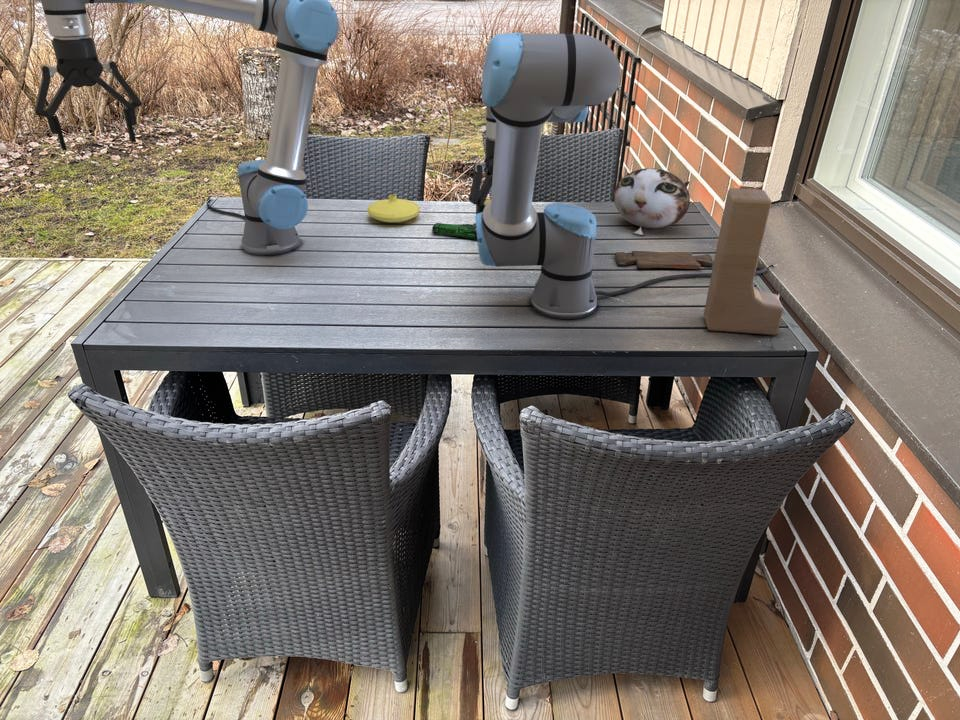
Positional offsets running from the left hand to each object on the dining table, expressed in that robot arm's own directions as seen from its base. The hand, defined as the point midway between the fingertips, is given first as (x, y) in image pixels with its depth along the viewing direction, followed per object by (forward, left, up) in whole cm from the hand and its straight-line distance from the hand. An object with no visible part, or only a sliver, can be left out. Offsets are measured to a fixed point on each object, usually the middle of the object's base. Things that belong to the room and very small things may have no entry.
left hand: (99, 144), depth 154 cm
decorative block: (+126, +64, -34) cm, 145 cm away
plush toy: (+85, +112, -34) cm, 145 cm away
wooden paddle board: (+99, +90, -34) cm, 138 cm away
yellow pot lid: (+19, +74, -34) cm, 84 cm away
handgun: (+43, +78, -34) cm, 96 cm away
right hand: (+61, +66, -25) cm, 93 cm away
